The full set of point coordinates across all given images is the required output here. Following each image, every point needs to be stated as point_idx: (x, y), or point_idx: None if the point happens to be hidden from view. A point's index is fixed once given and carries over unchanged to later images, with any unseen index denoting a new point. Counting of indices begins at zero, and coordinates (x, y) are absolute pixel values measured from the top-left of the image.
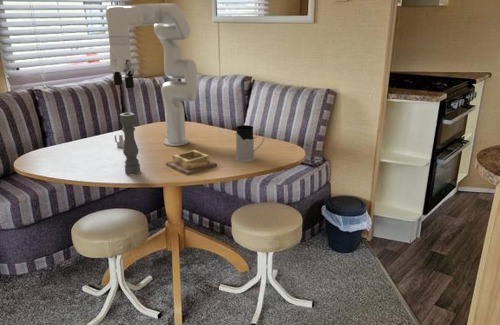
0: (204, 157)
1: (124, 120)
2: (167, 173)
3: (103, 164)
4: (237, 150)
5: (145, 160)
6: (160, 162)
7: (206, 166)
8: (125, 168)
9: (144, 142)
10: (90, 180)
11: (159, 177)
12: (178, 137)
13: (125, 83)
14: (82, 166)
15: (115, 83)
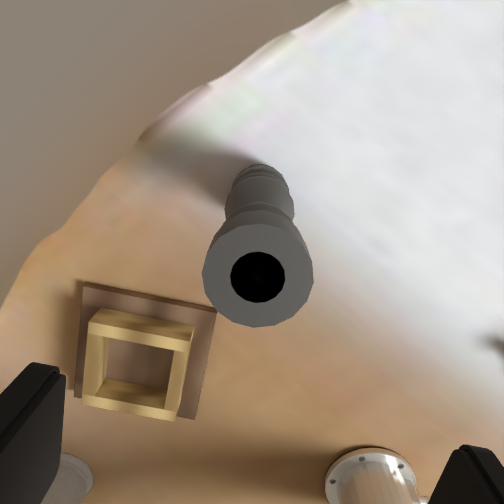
0: (83, 385)
1: (234, 220)
2: (149, 256)
3: (429, 181)
4: (53, 486)
5: (320, 301)
6: None
7: (77, 359)
8: (267, 168)
9: (479, 430)
10: (327, 29)
11: (140, 213)
12: (346, 493)
13: (6, 418)
14: (490, 113)
15: (468, 468)
